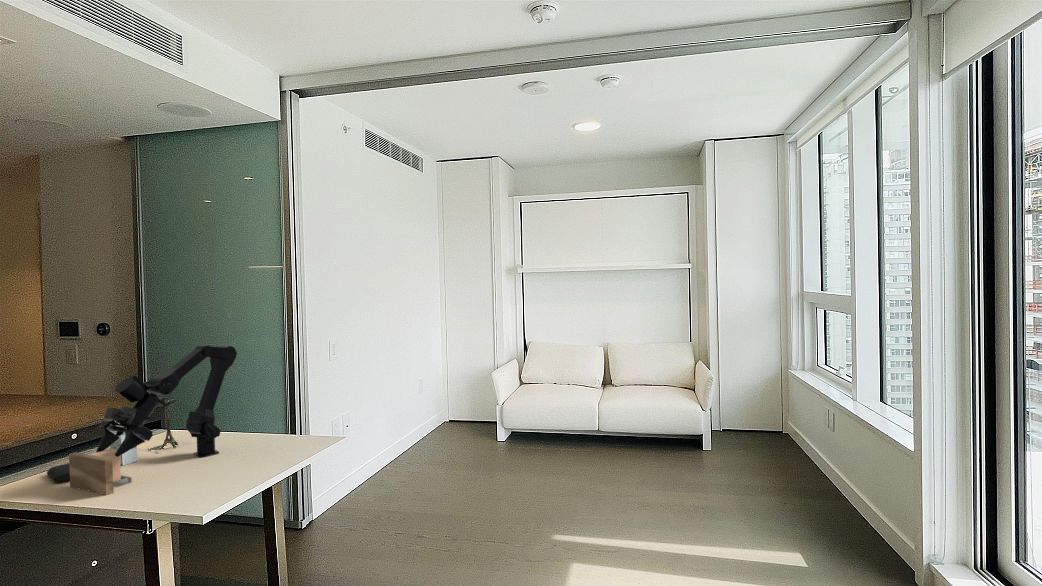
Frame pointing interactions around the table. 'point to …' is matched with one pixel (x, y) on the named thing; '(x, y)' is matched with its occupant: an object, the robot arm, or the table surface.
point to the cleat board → (93, 473)
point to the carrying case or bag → (59, 473)
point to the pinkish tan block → (115, 462)
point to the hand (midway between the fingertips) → (106, 454)
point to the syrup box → (127, 456)
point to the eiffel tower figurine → (170, 440)
